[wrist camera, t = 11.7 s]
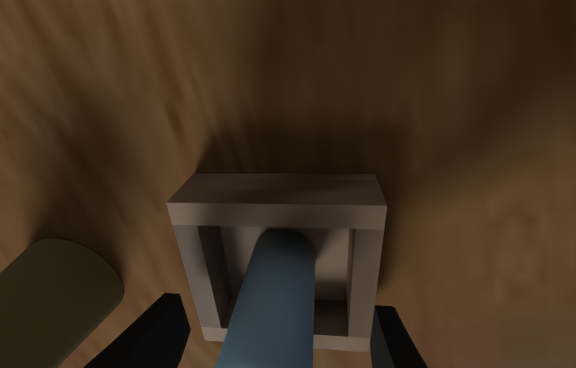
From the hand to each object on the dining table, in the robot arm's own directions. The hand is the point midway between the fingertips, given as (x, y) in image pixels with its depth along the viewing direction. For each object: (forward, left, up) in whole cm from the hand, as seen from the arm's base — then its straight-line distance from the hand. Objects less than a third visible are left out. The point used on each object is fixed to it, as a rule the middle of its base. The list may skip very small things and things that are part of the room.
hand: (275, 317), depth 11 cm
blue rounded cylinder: (0, 0, -4) cm, 4 cm away
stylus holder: (0, 0, -4) cm, 4 cm away
